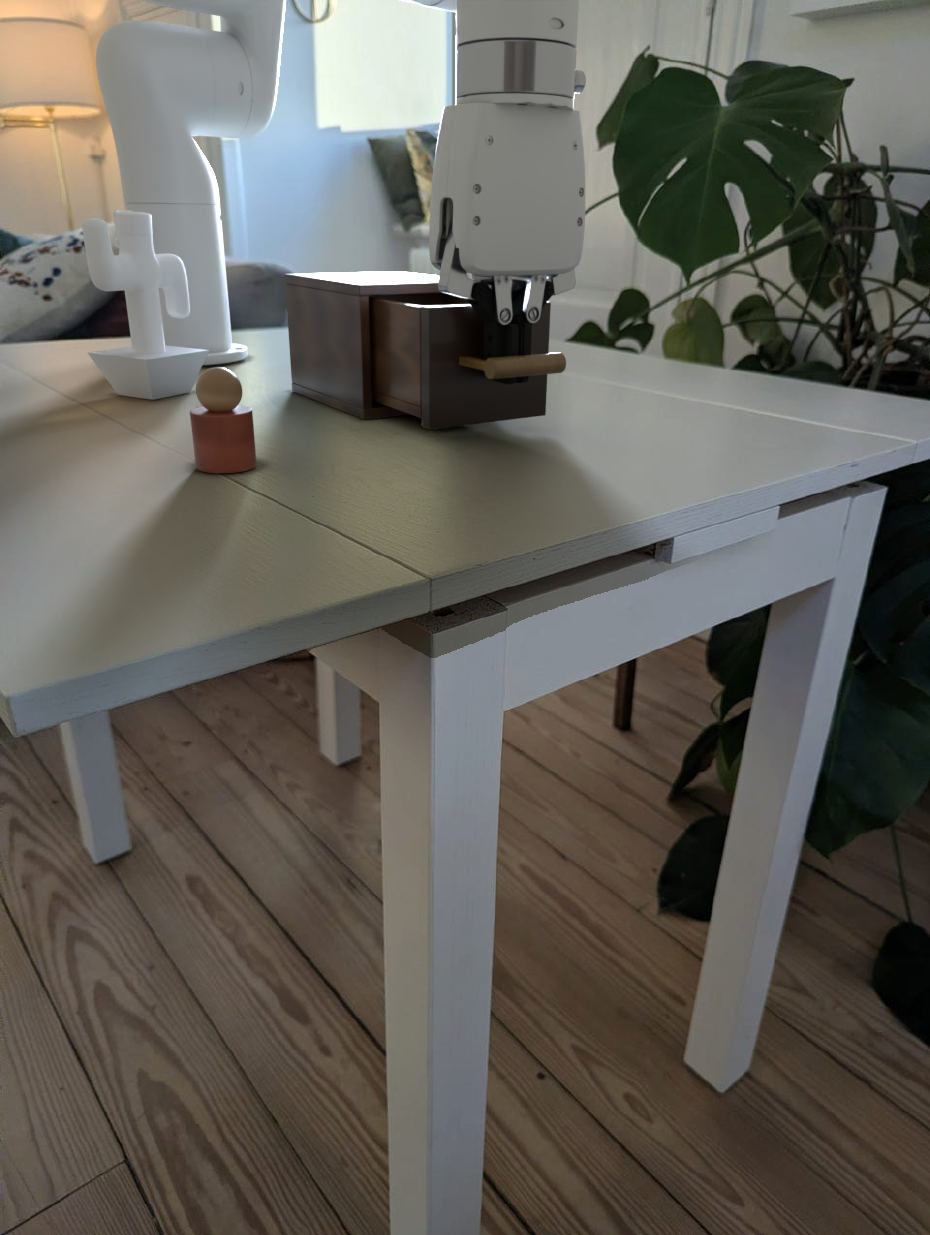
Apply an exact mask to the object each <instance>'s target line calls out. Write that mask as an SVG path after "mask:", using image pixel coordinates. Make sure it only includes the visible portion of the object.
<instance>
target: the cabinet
mask: <svg viewBox="0 0 930 1235" xmlns="http://www.w3.org/2000/svg"><path fill="white" fill-rule="evenodd" d="M471 279H472V278H471ZM438 280H439V275H437V274H428V273H418V272H410V271H401V270H399V271H397V270H396V271H357V272H356V271H355V272H353V271H351V272H350V271H349V272H309V273H306V272H305V273H284V283H285V299H286V300H285V301H286V313H287V314H286V316H287V328H288V330H287V331H288V345H289V346H288V347H289V360H290V377H291V391H292V392H293V393H295V394H298V395H301V396H303V397H306V398H308V399H311V400H313V401H316V402H319V403H321V404H324V405H326V406H328V407H331V408H334V409H336V410H339V411H341V412H344V413H346V414H349V415H351V416H353V417H356V418H359V419H361V420H363V421H364V420H365V421H366V420H373V419H382V418H390V417H391V418H392V417H400V416H409V415H411V414H408V413H405V412H402V411H400V410H397V409H394V408H391V407H388V406H386V405H383V404H380V403H377V402H374V401H372V390H371V356H370V322H369V296H373V295H400V294H428V293H442V292H440V290H439V289H438ZM472 280H473V279H472Z"/></svg>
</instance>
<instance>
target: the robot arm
mask: <svg viewBox="0 0 930 1235" xmlns="http://www.w3.org/2000/svg"><path fill="white" fill-rule="evenodd" d="M142 1H143V2H145V3H149V4H151V5H156V6H161V7H164V8H169V9H175V10H180V11H186V12H192V13H199V14H205V15H210V16H211V15H212V16H216V17H217V16H218V17H219V21H220V31H219V30H214V29H213V30H212V29H205V28H199V27H193V26H190V25H183V24H178V23H170V22H165V21H164V22H163V21H157V20H147V19H132V20H131V19H130V20H124V21H119V22H117V23H114V24H113V25H110V26H109V27H108V28H107V29H106V30H105V31H104V32H103V33H102V35H101V36H100V38H99V41H98V43H97V46H96V51H95V68H96V75H97V80H98V81H97V82H98V86H99V90H100V93H101V97H102V100H103V103H104V107H105V110H106V113H107V116H108V120H109V124H110V128H111V131H112V132H111V133H112V136H113V141H114V145H115V150H116V156H117V162H118V168H119V174H120V182H121V188H122V196H123V203H124V204H123V205H124V210H132V211H133V212H145V213H149V214H151V215H152V232H153V234H152V237H153V247H154V253H155V254H167V253H169V254H174V255H176V256H178V257H179V258H180V259H181V260H182V262H183V264H184V267H185V271H186V276H187V285H188V294H189V304H190V314H189V315H188V316H187V317H185V318H174V317H171V316H170V315H169V314H168V312H167V308H166V300H165V295H164V291H163V288H159V299H160V307H161V316H162V324H163V333H164V342H165V345H166V346H175V347H184V348H194V349H203V350H209V352H208V354H207V356H206V358H205V360H204V363H203V365H202V367H204V366H213V365H215V366H216V365H223V364H224V365H225V364H232V363H236V362H240V361H244V360H245V359H247V358H248V356H249V355H248V354H249V353H248V347H247V346H246V345H244V344H240V343H236V342H233V337H232V336H233V335H232V325H231V313H230V303H229V290H228V280H227V270H226V269H227V268H226V259H225V258H226V257H225V256H226V255H225V246H224V234H223V224H222V212H221V211H222V210H221V200H220V192H219V185H218V182H217V179H216V175H215V172H214V170H213V168H212V167H211V165H210V163H209V161H208V159H207V158H206V156H205V155H204V153H203V152H202V150H201V149H200V147H199V145H198V144H197V142H196V141H195V139H194V138H193V137H209V138H223V139H251V138H256V137H258V136H260V135H262V134H263V133H264V132H265V131H266V129H267V128H268V127H269V125H270V123H271V121H272V118H273V115H274V112H275V108H276V102H277V95H278V86H279V77H280V66H281V56H282V55H281V54H282V43H283V34H284V23H285V13H286V2H287V0H142ZM400 1H402V2H407V3H412V4H417V5H420V6H421V7H425V8H431V9H435V10H439V11H440V10H441V11H446V12H451V13H455V33H456V34H455V101H454V102H455V104H450V105H445V106H444V107H443V109H442V114H441V119H440V124H439V129H438V135H437V141H436V147H435V154H434V162H433V169H432V181H431V194H430V206H429V208H430V209H429V225H428V227H429V231H428V251H429V252H428V254H429V260H430V264H431V265H432V266H433V268H435V269H437V270H438V271H439V275H438V276H439V280H438V289H439V290H440V292H442V293H446V294H449V295H453V296H457V297H460V298H465V299H466V300H467V301H468V302H469V304H470V305H471V306H472V307H473V309H474V310H475V311H476V316H477V318H478V319H479V320H480V321H484V341H483V360H487V359H488V358H495V357H508V356H520V355H531V336H532V323H536V322H537V321H538V320H539V318H540V315H541V309H542V308H543V307H544V306H545V304H546V303H547V302H549V301H550V299H551V298H552V297H553V296H557V295H561V294H563V293H566V292H568V291H571V290H572V289H574V288H575V286H576V283H577V280H576V272H575V269H576V268H577V267H578V266H579V265H580V262H581V259H582V255H583V250H584V242H585V228H586V163H585V162H586V161H585V147H584V138H583V128H582V122H581V112H580V111H579V110H575V109H574V107H575V105H574V103H575V94H576V95H577V94H581V93H583V91H584V89H585V87H586V81H587V79H586V78H587V77H586V73H585V72H584V71H583V70H580V69H577V52H578V51H577V46H578V45H577V44H578V28H579V27H578V26H579V9H580V8H579V7H580V0H400ZM467 274H471V278H470V277H469V276H468V275H467ZM472 279H473V280H472ZM485 377H486V375H485ZM486 379H488V378H487V377H486ZM528 379H529V376H523V377H512V378H502V379H488V380H492V381H496V382H500V383H503V384H514V383H515V382H517V383H526V382H527V381H528Z"/></svg>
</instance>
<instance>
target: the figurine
mask: <svg viewBox="0 0 930 1235" xmlns="http://www.w3.org/2000/svg"><path fill="white" fill-rule="evenodd" d="M112 213H113V223H114V235H115V238H114V240H113V243H114V246H115V248H117V249H118V254H114V250H113V247H112V243H111V235H110V229H109V226H108V224H107V222H106V221H105V220H104V219H102V218H100V217H88V218H85V219H84V220H83V222H82V230H81V231H82V236H83V243H84V250H85V257H86V264H87V268H88V274H89V277H90V280H91V282H92V284H93V285H94V286H95V288H97V289H98V290H100V291H103V292H121V291H124V295H125V296H124V297H125V305H126V311H127V312H126V313H127V319H128V320H127V321H128V327H129V335H130V341H131V346H127V347H119V348H112V349H105V350H97V351H92V352H90V351H89V352H87V354H88V356H89V357H90V359H91V360H92V361H93V363H94V365H96V367H97V368H98V369H99V371H100V372H101V373H102V375H103V376H104V378H105V379H106V380H107V381H108V383H109V384H110V386H111V388H113V390H114V391H115V393H116V394H117V395H118V396H124V397H131V398H138V399H143V400H144V399H145V400H151V401H154V400H158V399H164V398H170V397H174V396H179V395H184V394H189V393H191V391H192V389H193V387H194V385H195V382H196V381H197V379H198V378H197V377H199V373H200V371H201V369H202V368H203V366H204V365H203V363H204V360H205V358H206V356H207V354H208V352H209V350H203V349H194V348H184V347H175V346H166V345H165V342H164V333H163V324H162V316H161V307H160V299H159V288H163V291H164V295H165V300H166V308H167V312H168V314H169V315H170V316H171V317H174V318H185V317H187V316H188V315H189V314H190V304H189V294H188V285H187V276H186V271H185V267H184V264H183V262H182V260H181V259H180V258H179V257H178V256H176V255H174V254H169V253H167V254H155V253H154V247H153V237H152V234H153V232H152V215H151V214H149V213H145V212H133V211H132V210H125V209H123V210H122V209H121V210H120V209H114V210H113V212H112ZM202 365H203V366H202Z"/></svg>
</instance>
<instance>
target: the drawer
mask: <svg viewBox="0 0 930 1235" xmlns="http://www.w3.org/2000/svg"><path fill="white" fill-rule="evenodd" d="M551 307H552V303H551V301H548V302H547V303H546V304H545V306H544V307H543V308H542V309H541V315H540V318H539V320H538V321H537V322H536V323H532V336H531V355H520V356H508V357H495V358H488V359H487V360H483V341H484V321H480V320H479V319H478V318H477V316H476V311H475V310H474V309H473V307H472V306H471V305H470V304H469V302H468V301H467V300H466V299H465V298H460V297H457V296H453V295H449V294H446V293H428V294H400V295H373V296H369V322H370V356H371V390H372V401H374V402H377V403H380V404H383V405H386V406H388V407H391V408H394V409H397V410H400V411H402V412H405V413H408V414H410V415H411V416H414V417H417V418H419V419H421V427H423V428H424V429H425V428H426V429H428V430H436V429H445V428H453V427H461V426H462V427H463V426H469V425H477V424H478V425H479V424H485V423H486V424H487V423H494V422H502V421H511V420H518V419H527V418H535V417H543V416H546V415H547V414H546V412H547V392H548V390H547V389H548V375H555V374H562V373H563V372H564V371H565V370H566V366H567V359H566V356H565V355H564V353H563V352H549V351H550V350H549V349H550V331H551V330H550V329H551V309H552V308H551ZM485 375H486V377H487V378H488V379H502V378H512V377H523V376H529V379H528V381H527V382H526V383H517V382H515V383H514V384H503V383H500V382H496V381H492V380H488V379H486V377H485Z"/></svg>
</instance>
